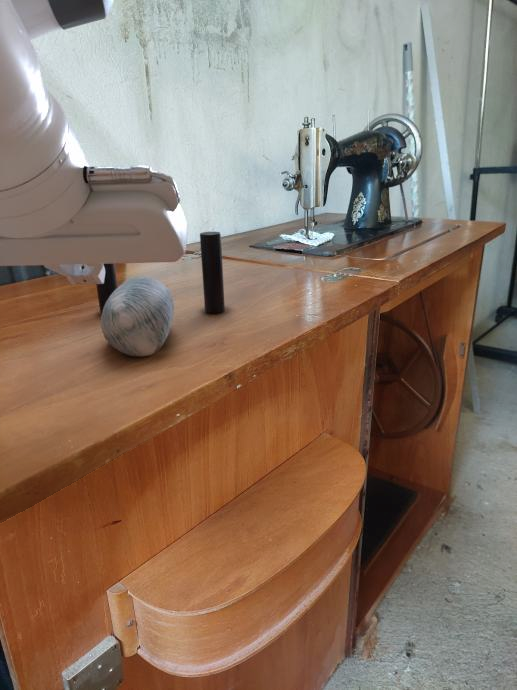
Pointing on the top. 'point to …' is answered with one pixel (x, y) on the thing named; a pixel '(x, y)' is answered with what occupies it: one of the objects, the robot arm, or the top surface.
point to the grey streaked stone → (138, 316)
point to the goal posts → (210, 271)
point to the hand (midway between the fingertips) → (89, 277)
